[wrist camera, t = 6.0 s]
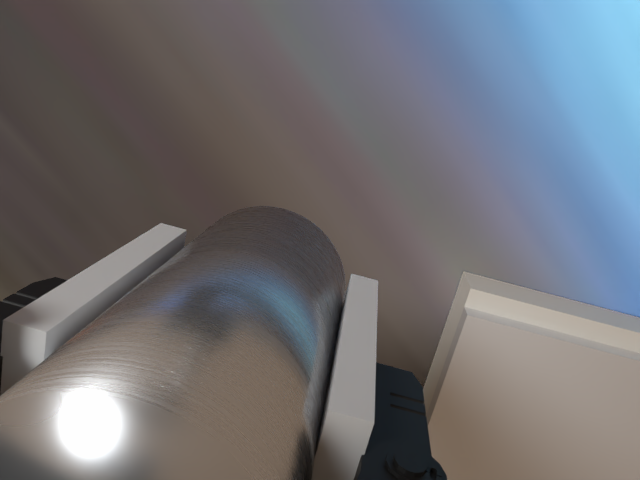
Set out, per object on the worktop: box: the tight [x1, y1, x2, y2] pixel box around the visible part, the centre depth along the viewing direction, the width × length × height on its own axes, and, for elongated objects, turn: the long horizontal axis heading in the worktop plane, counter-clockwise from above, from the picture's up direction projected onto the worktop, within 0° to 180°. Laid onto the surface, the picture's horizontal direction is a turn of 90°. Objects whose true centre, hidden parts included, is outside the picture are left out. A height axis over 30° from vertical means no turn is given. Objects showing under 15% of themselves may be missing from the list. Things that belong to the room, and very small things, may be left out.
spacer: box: [0, 206, 346, 480], centre depth 12 cm, size 5×5×10 cm
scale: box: [423, 271, 640, 480], centre depth 29 cm, size 16×11×4 cm
